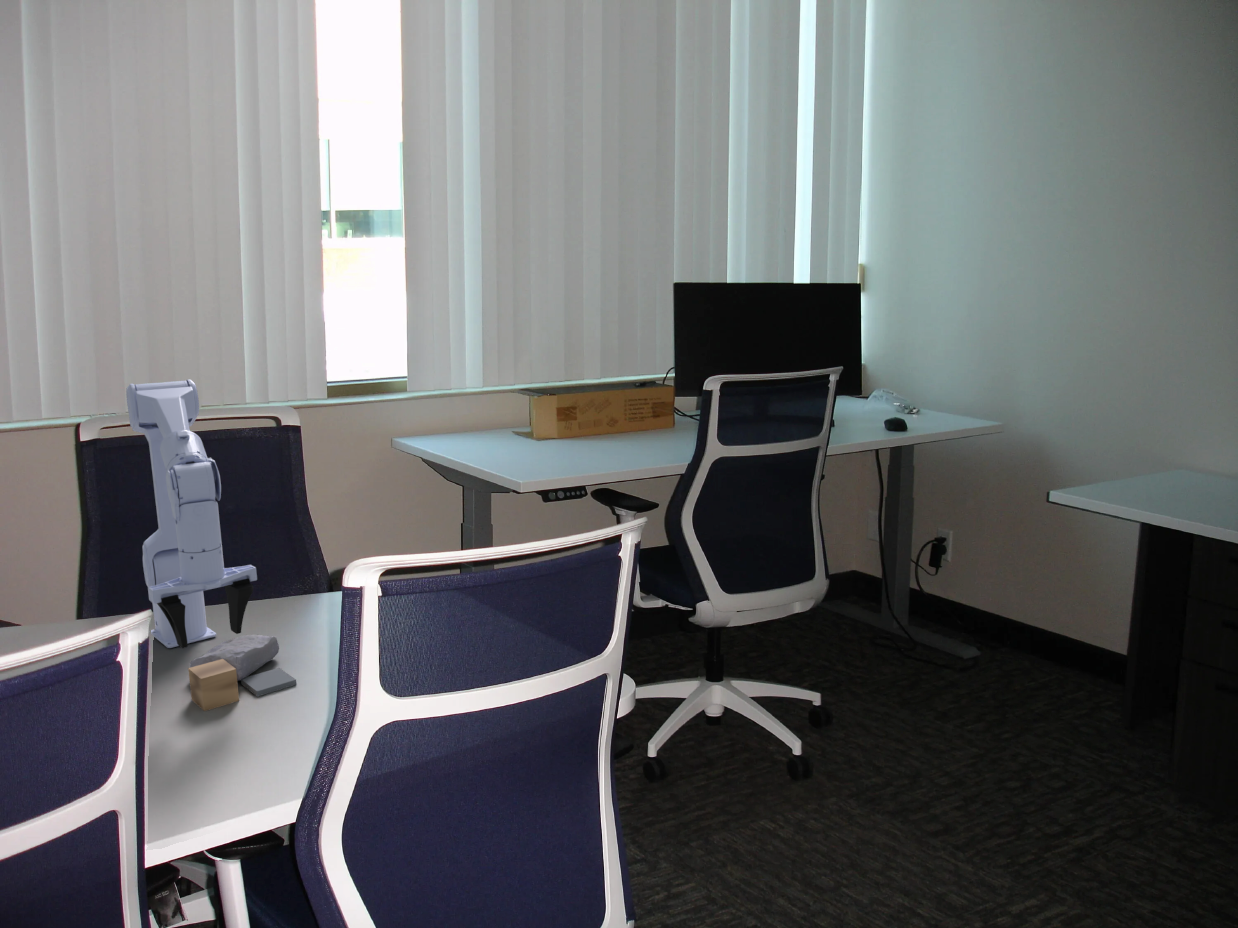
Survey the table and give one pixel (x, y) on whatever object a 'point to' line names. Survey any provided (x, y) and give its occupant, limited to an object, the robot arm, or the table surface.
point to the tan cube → (213, 684)
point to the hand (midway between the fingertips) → (209, 638)
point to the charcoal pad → (268, 681)
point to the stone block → (242, 653)
